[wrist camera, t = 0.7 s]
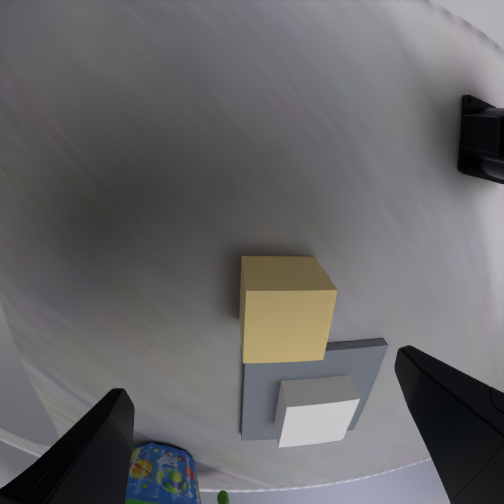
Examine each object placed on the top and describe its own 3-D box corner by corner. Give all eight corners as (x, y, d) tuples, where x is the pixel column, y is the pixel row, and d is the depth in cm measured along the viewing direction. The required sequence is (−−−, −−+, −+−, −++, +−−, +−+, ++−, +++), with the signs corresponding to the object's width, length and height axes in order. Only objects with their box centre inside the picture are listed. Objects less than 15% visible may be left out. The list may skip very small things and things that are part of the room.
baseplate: (383, 338, 24) (388, 344, 23) (351, 422, 28) (353, 429, 27) (245, 345, 23) (245, 354, 22) (241, 433, 27) (241, 440, 26)
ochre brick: (314, 256, 21) (337, 290, 16) (305, 317, 23) (323, 359, 18) (241, 255, 20) (246, 290, 16) (239, 318, 22) (242, 363, 18)
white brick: (348, 374, 24) (360, 398, 21) (334, 417, 26) (342, 439, 23) (281, 380, 23) (287, 407, 21) (274, 422, 26) (278, 447, 23)
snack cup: (93, 449, 28) (76, 513, 19) (109, 411, 25) (86, 492, 16) (204, 485, 32) (204, 547, 23) (243, 455, 29) (249, 531, 20)
